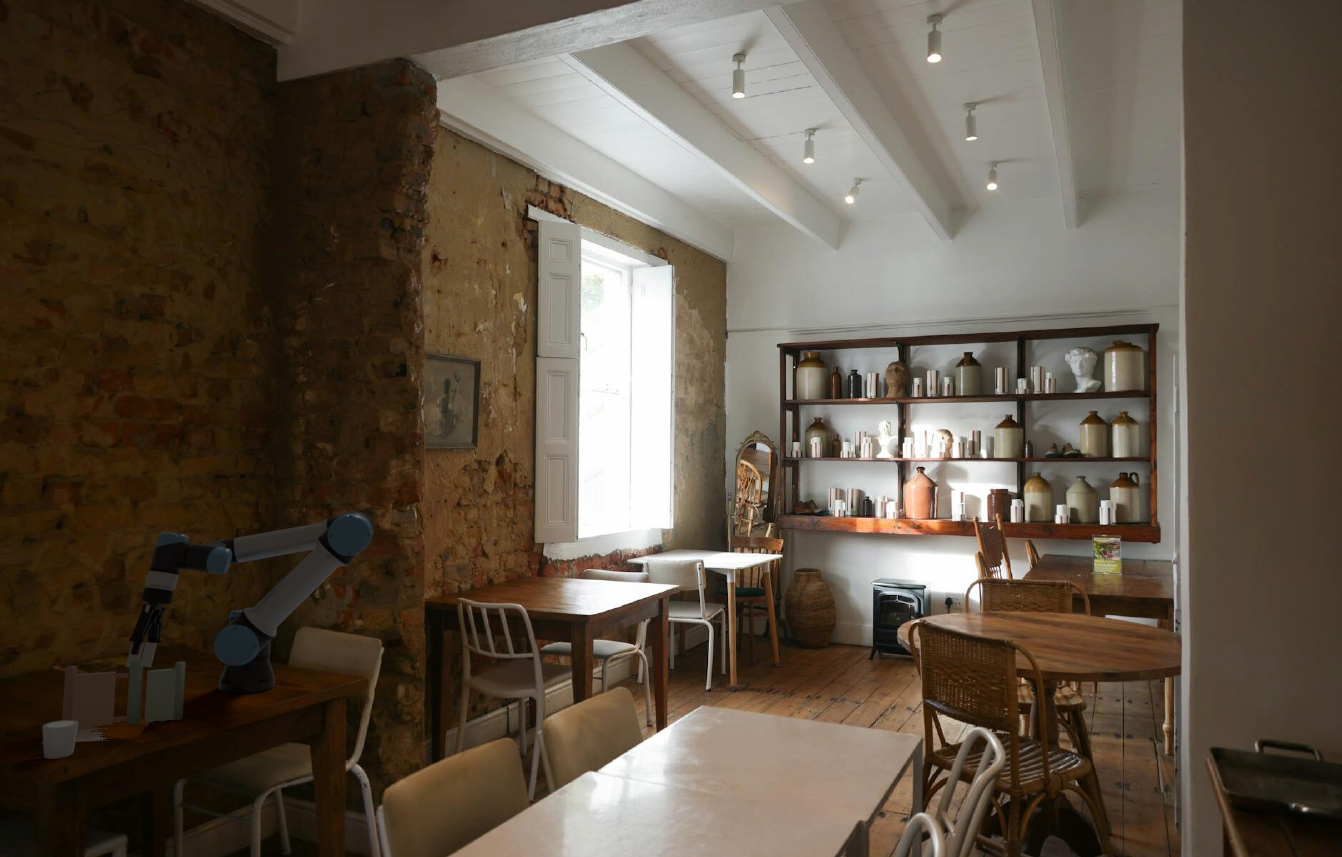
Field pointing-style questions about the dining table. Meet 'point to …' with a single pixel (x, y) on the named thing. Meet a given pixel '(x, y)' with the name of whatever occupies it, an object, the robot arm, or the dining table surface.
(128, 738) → the dining table surface
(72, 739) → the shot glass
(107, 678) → the gate panel
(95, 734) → the card
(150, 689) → the fence post and fixed panel
